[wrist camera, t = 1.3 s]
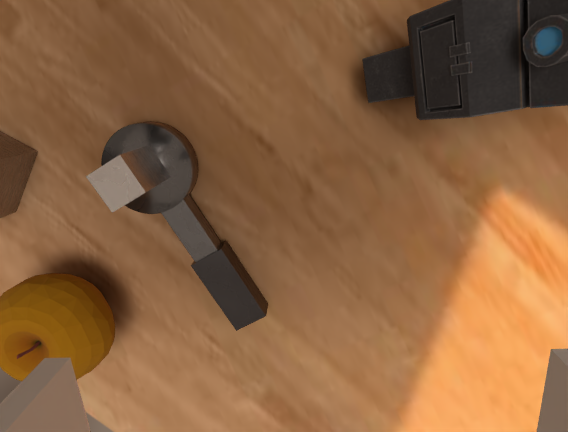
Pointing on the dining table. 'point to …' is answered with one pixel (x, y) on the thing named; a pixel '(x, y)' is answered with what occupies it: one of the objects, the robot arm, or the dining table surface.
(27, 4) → the dining table surface
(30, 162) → the lidded square canister
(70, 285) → the apple
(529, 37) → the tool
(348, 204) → the dining table surface
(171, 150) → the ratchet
